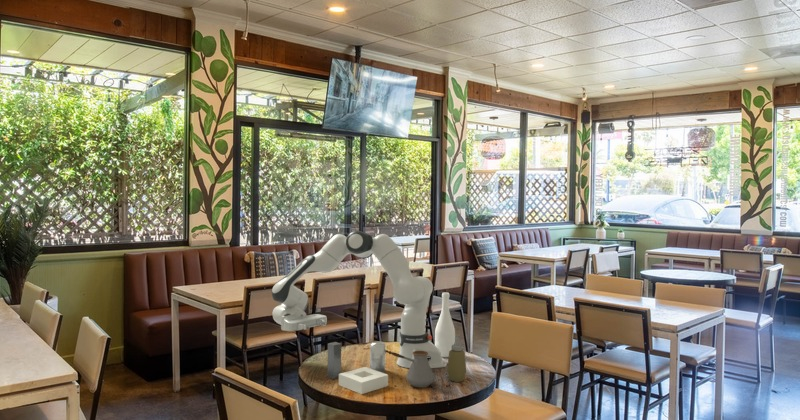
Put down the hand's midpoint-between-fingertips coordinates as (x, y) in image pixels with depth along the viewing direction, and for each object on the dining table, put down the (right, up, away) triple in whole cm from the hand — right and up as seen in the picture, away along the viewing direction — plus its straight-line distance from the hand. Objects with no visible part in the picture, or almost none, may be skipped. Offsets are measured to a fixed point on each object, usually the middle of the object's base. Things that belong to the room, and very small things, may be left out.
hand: (315, 325), depth 243 cm
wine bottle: (+58, -20, +26) cm, 66 cm away
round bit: (+27, -20, +1) cm, 33 cm away
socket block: (+22, -20, -18) cm, 35 cm away
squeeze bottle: (+60, -21, -10) cm, 64 cm away
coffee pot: (+40, -21, -17) cm, 48 cm away
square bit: (+9, -20, -8) cm, 23 cm away
